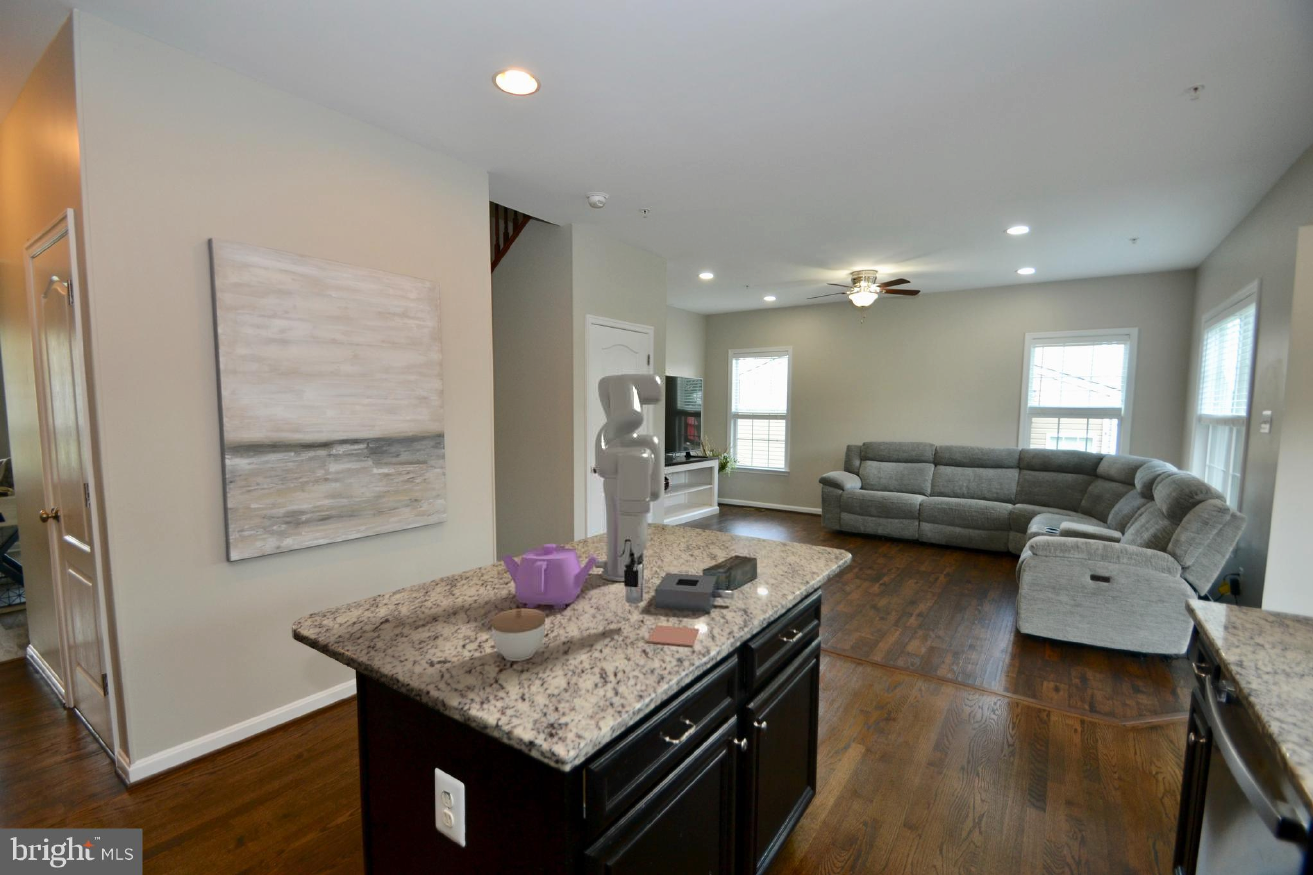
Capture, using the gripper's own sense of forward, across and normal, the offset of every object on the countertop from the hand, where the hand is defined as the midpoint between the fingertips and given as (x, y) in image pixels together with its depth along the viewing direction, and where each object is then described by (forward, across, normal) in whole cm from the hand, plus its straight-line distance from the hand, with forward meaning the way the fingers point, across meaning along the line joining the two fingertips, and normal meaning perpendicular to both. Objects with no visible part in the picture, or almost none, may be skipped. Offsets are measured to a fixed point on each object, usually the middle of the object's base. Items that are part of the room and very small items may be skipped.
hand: (634, 582), depth 131 cm
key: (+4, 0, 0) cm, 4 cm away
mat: (+10, +5, +10) cm, 15 cm away
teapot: (+11, -10, -26) cm, 29 cm away
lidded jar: (+10, +21, -18) cm, 30 cm away
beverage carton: (+11, -35, +19) cm, 42 cm away
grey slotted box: (+10, -18, +12) cm, 24 cm away
